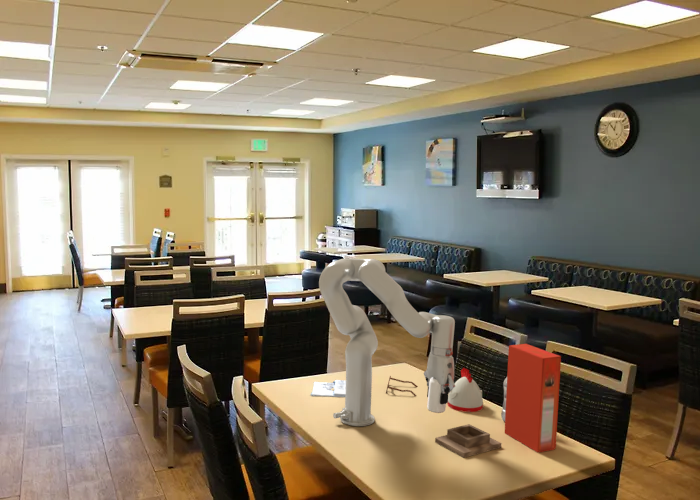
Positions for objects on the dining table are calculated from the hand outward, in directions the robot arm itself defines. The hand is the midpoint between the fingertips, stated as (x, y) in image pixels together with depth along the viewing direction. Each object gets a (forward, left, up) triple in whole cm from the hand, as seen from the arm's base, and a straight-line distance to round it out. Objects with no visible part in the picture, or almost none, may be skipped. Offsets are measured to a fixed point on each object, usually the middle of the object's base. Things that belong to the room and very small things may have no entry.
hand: (437, 399), depth 218 cm
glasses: (+17, +42, -12) cm, 46 cm away
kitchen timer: (+28, +14, -12) cm, 33 cm away
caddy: (+2, -15, -11) cm, 19 cm away
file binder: (+23, -23, -12) cm, 34 cm away
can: (0, 0, -4) cm, 4 cm away
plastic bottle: (+31, -7, -12) cm, 33 cm away
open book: (-8, +55, -12) cm, 57 cm away
